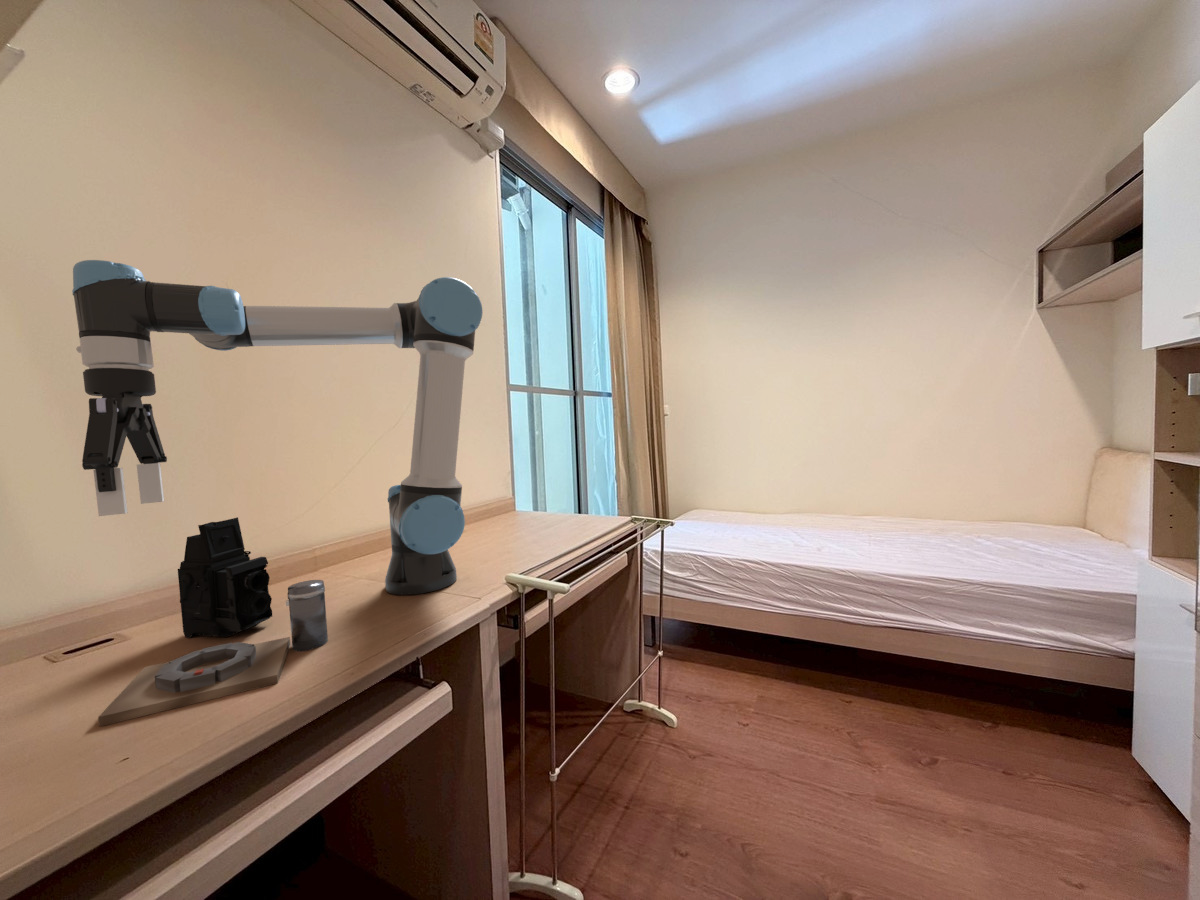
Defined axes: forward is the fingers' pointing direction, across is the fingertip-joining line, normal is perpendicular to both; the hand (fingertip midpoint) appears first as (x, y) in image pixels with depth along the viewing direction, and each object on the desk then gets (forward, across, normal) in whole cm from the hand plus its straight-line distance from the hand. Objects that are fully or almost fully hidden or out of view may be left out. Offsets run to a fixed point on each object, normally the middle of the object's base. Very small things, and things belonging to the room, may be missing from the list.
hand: (134, 508), depth 71 cm
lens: (+25, +6, +22) cm, 34 cm away
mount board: (+25, +12, +10) cm, 29 cm away
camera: (+25, -8, +9) cm, 28 cm away
